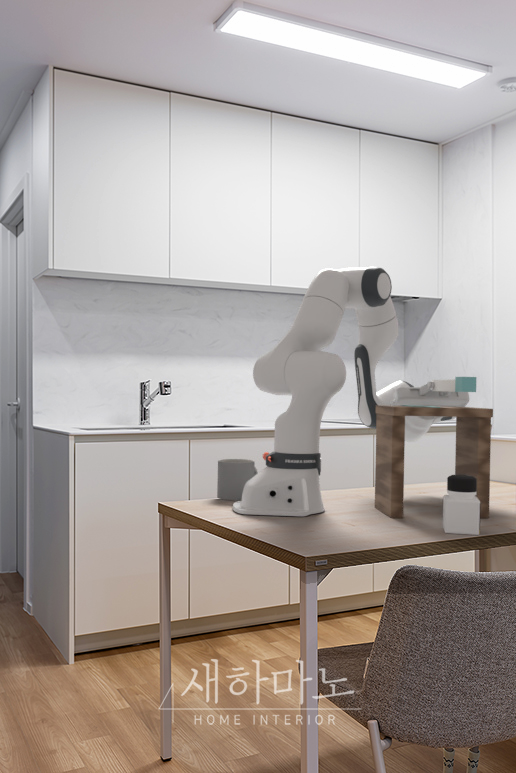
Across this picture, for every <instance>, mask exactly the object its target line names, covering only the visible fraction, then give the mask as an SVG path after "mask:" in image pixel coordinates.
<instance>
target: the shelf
mask: <svg viewBox="0 0 516 773" xmlns="http://www.w3.org/2000/svg"><path fill="white" fill-rule="evenodd" d="M376 413H377V417H376V429H375V431H376V432H375V470H374V471H375V476H374V477H375V478H374V479H375V480H374V508H375V509H377V510H378V511H379V512H380V513H382V514H384V515H386V517H388V518H391V519H404V496H405V495H404V494H405V492H404V490H405V489H404V488H405V486H404V485H405V445H406V444H405V416H446V417H456V418H455V458H454V459H455V465H454V466H455V468H454V475H470V476H473V477H475V478H476V479H477V488H476V495H475V496H476V497H477V498H478V499H479V501H480V503H481V506H480V519H490V498H491V497H490V489H491V488H490V487H491V486H490V485H491V447H492V446H491V445H492V444H491V442H492V441H491V438H492V437H491V436H492V432H491V431H492V418H494V408H488V407H485V408H484V407H471V406H465V407H444V406H422V405H402V406H390V405H376Z"/></svg>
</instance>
